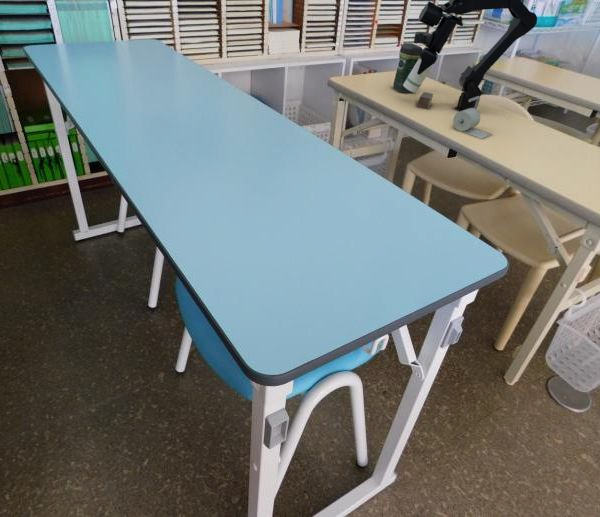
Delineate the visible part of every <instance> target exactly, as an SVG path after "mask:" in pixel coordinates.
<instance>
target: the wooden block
mask: <svg viewBox="0 0 600 517" xmlns="http://www.w3.org/2000/svg"><path fill="white" fill-rule="evenodd" d="M433 96H434V93H432V92H425V91H423V92H422V94H420V97H419V99H418V103H417V108H421V109H425V110H428V109H429V108H430V107H431V104H432V101H433Z"/></svg>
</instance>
